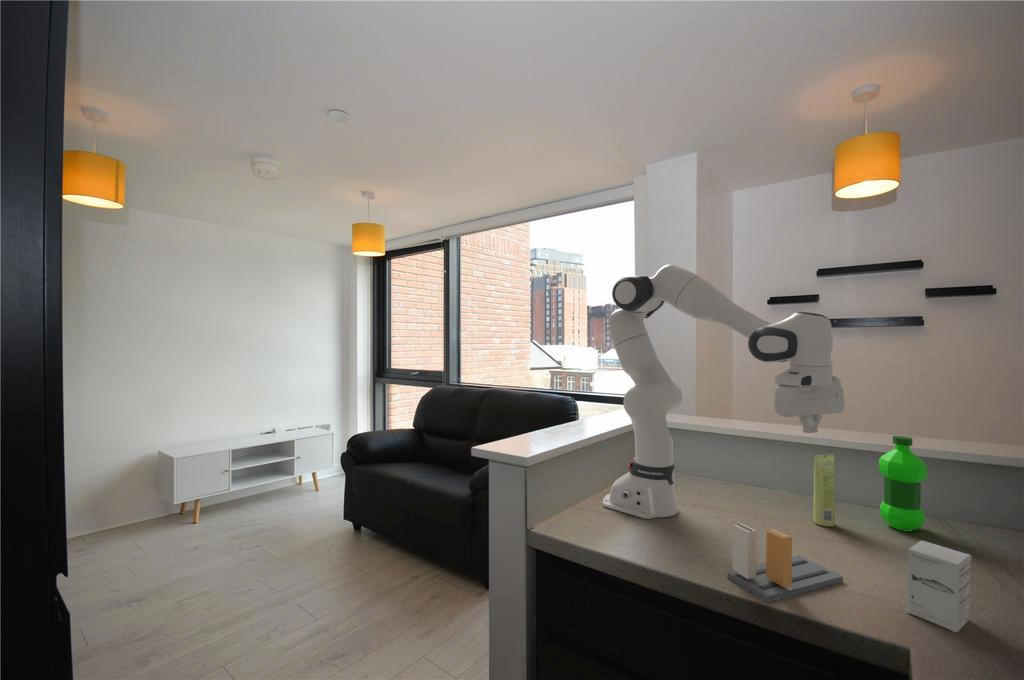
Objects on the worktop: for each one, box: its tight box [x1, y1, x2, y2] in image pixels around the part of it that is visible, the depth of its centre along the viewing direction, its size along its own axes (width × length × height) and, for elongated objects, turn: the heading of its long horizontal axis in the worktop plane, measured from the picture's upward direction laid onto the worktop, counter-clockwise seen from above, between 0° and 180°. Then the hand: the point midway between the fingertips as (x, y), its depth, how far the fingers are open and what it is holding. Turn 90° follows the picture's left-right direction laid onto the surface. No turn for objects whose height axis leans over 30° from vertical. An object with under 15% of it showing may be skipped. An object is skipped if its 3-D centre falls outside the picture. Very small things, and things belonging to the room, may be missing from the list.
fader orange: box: [765, 528, 793, 587], centre depth 96 cm, size 2×4×10 cm, turn 20°
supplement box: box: [906, 540, 972, 633], centre depth 87 cm, size 7×7×13 cm
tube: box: [813, 453, 836, 527], centre depth 129 cm, size 6×5×20 cm
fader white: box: [732, 523, 758, 579], centre depth 99 cm, size 2×4×10 cm, turn 20°
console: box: [727, 554, 844, 603], centre depth 100 cm, size 22×10×1 cm, turn 110°
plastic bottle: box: [878, 435, 928, 532], centre depth 126 cm, size 10×10×25 cm
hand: (810, 432), depth 114 cm, fingers closed
